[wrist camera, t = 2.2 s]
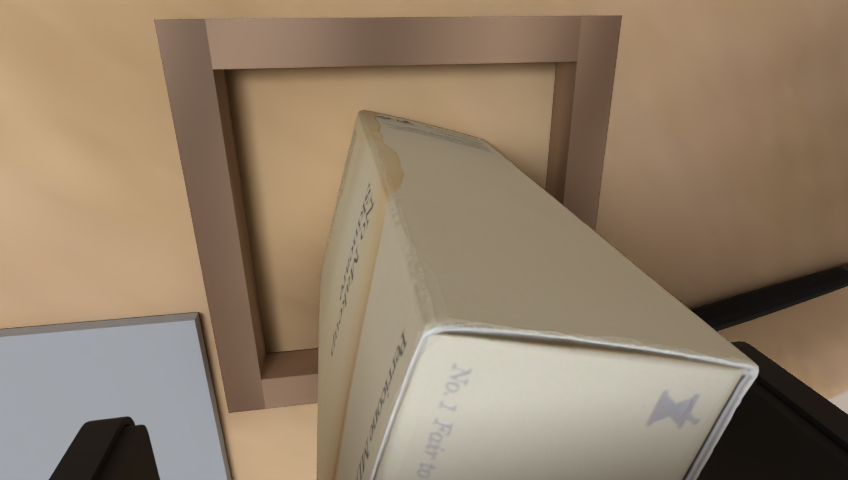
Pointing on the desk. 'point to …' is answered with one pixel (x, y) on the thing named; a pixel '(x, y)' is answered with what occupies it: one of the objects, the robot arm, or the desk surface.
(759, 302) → the fountain pen
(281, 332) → the desk surface
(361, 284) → the skincare box
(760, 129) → the desk surface
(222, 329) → the collar
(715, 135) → the desk surface
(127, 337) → the rubber mat
